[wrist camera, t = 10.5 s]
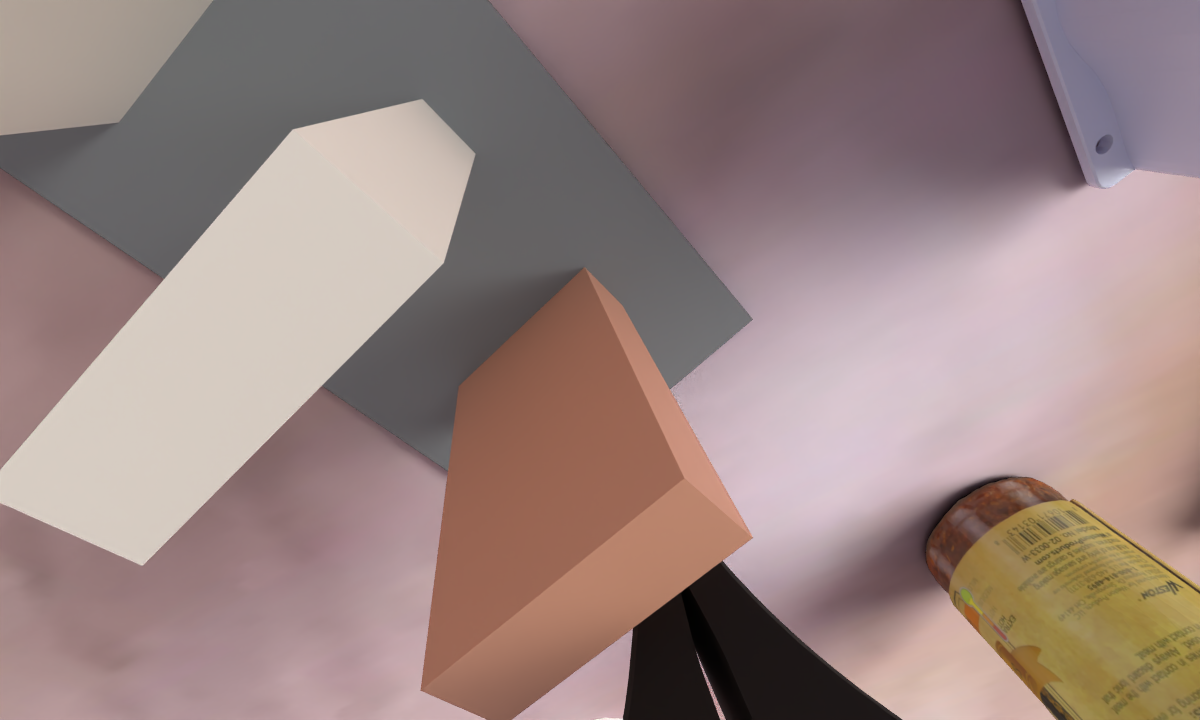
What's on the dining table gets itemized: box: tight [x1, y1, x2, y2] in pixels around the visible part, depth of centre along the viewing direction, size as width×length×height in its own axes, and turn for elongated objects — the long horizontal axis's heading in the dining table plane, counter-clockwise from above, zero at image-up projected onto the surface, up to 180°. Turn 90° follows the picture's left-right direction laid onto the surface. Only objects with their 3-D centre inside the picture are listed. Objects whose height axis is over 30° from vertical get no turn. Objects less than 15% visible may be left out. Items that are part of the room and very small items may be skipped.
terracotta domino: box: [421, 267, 753, 720], centre depth 12 cm, size 2×5×9 cm, turn 133°
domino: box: [0, 99, 475, 566], centre depth 9 cm, size 2×5×9 cm, turn 132°
